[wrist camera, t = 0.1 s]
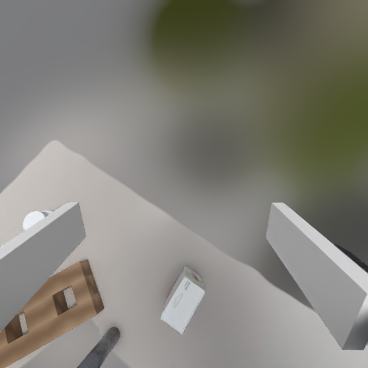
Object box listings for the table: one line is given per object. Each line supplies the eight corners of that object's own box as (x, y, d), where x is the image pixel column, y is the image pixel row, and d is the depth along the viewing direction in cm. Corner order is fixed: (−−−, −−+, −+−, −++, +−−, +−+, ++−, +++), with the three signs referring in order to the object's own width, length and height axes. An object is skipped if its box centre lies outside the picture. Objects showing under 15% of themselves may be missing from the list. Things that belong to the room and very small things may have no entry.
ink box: (183, 310, 41) (181, 338, 30) (166, 297, 42) (158, 319, 31) (202, 276, 43) (207, 291, 32) (185, 265, 44) (184, 274, 33)
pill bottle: (54, 237, 47) (15, 238, 36) (57, 214, 49) (21, 208, 38) (77, 236, 47) (45, 236, 36) (79, 212, 49) (50, 206, 38)
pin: (121, 338, 40) (95, 379, 29) (109, 345, 40) (77, 390, 28) (116, 324, 41) (89, 358, 29) (104, 331, 41) (72, 369, 29)
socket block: (104, 308, 42) (96, 314, 39) (12, 361, 39) (-5, 373, 36) (87, 260, 45) (79, 262, 42) (1, 306, 42) (-15, 312, 39)
